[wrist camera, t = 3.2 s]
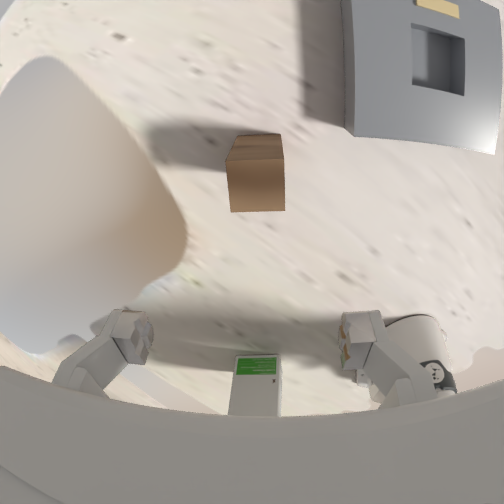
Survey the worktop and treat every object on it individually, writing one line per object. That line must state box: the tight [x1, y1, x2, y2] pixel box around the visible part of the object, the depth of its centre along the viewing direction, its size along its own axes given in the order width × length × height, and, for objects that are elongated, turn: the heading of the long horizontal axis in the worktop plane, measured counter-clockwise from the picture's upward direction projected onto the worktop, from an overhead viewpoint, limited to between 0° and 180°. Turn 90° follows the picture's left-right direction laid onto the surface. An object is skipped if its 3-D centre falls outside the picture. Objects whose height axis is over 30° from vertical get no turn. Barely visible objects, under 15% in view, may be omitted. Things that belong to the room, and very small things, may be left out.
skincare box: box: [228, 355, 282, 417], centre depth 46 cm, size 8×7×16 cm
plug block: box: [225, 134, 285, 212], centre depth 27 cm, size 4×4×9 cm
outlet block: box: [341, 0, 502, 155], centre depth 21 cm, size 18×18×4 cm
